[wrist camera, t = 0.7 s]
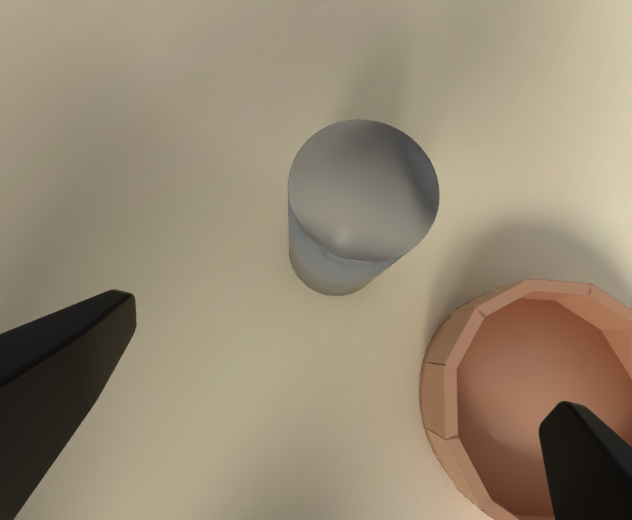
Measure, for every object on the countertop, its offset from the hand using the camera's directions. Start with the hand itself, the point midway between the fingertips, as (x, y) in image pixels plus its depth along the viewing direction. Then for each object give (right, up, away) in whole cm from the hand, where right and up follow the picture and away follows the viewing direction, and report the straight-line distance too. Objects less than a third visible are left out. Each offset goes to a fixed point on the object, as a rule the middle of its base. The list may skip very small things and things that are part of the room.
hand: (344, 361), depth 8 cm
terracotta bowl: (+11, -6, +13) cm, 18 cm away
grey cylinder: (+1, +3, +14) cm, 15 cm away
